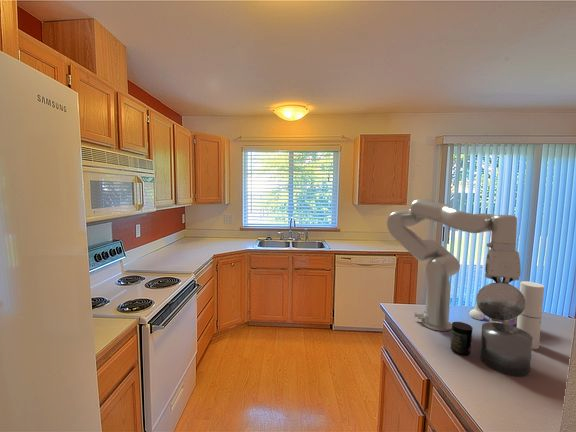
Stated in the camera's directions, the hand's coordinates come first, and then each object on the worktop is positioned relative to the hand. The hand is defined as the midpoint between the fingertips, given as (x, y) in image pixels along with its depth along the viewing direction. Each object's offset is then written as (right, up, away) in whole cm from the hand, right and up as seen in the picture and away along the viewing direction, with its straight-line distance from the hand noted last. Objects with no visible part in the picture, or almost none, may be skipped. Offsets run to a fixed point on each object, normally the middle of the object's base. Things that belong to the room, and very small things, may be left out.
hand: (501, 293), depth 106 cm
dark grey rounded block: (-5, -23, -8) cm, 25 cm away
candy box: (+18, -21, +22) cm, 35 cm away
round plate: (-3, -3, -4) cm, 5 cm away
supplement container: (-16, -22, -1) cm, 28 cm away
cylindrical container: (+14, -22, +5) cm, 27 cm away
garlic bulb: (+10, -20, +29) cm, 37 cm away
